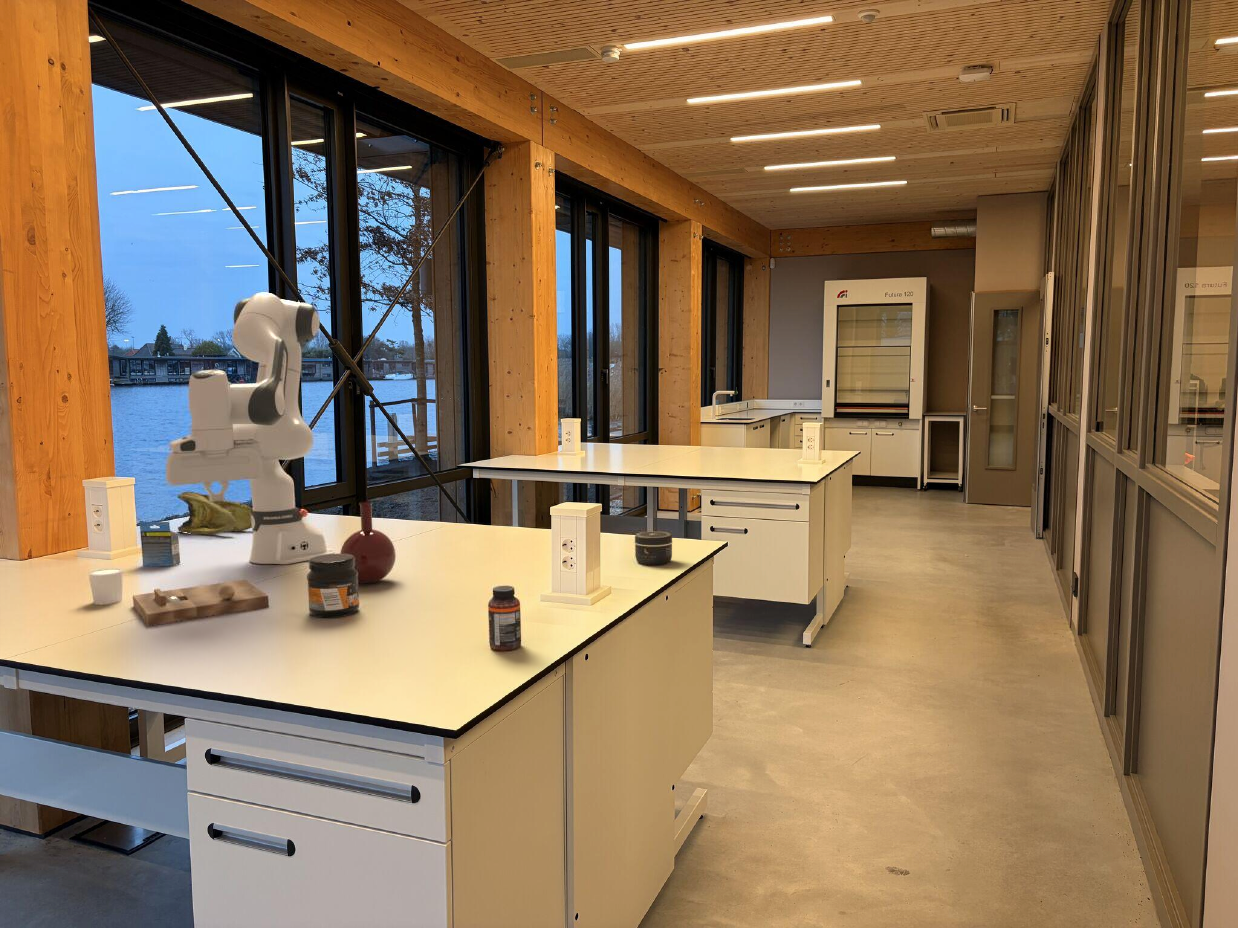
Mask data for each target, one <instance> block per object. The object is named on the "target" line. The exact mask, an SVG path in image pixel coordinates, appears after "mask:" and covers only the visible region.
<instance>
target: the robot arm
mask: <svg viewBox="0 0 1238 928" xmlns="http://www.w3.org/2000/svg"><path fill="white" fill-rule="evenodd" d="M233 324H234V326H233V329H232V335H231V340H232V342H233V346H234V347H235V348H236V350H237V351H238V352H239V354H240V355H242V356H243V357H245V358H246V359H247V360H250V361H252V362H255V363H258V370H257V374H256V375H257V376H256V382H255V383H254V382H253V383H232V382H230V381H229V380H228V376H227V372H226V371H224V370H220V369H205V370H199V371H195V372H194V373H192V374H191V375H190V377H189V381H188V382H189V383H188V410H189V414H190V416H191V425H190V435H186V436H183V437H181V438H178V439H176V440H173V441H170V442H169V449H170V451H171V452H170V453H169V454H168V456H167V458H166V463H165V481H166V482H167V484H168V485H170V486H173V487H175V486H185V485H196V484H197V485H199V484H202V485H203V488H204V490H205V491H206V492H207V495H209V498H210V502H217V501H225V500H226V499H225V498H226V497H225V494H226V492H227V490H228V489H229V486H230V481H240V480H249V484H250V491H251V492H250V493H251V503H252V509H253V510H252V511H251V526H252V528H251V529H252V532H253V533H252V544H251V551H250V552H251V553H250V556H249V560H248V561H249V562H250V563H254V564H260V565H261V564H263V565H269V564H270V565H272V564H273V565H275V564H277V565H290V564H295V563H300V562H307V561H309V559H310V558H312V557H315V556H320V555H326V554H336V553H335V550H334V548H331V547H330V546H329V547H328V546H327V543H326V540H325V536H324V534H323V533H322V531H320V530H319V529H317V528H316V527H315V526H313V525H311V524H310V523H309V522H307V521H305V520H304V519H303V518H305V517H308V515H309V512H308V511H307V510H306V509H304V508H299V507H296V501H295V500H296V497H295V496H296V495H295V484H294V480H293V478H292V477H291V476H290V475H289V474H287V472H286V471H285V470H284V469H283V467H282V466H281V464H280V461H279V460H281V461H283V460H285V461H290V460H295V459H299V458H303V457H305V456H307V455H308V454H309V453H310V452H311V450H312V448H313V444H314V434H313V431H312V429H311V428H310V426H308V424H307V423H306V422H305V421H304V420H303V417H302V415H301V412H300V407H299V390H300V389H299V388H300V380H301V379H300V378H301V373H302V372H301V371H302V348H305V347H306V346H307V344H309V343H311V342H312V341H313V340H314V339H315V338H316V337H317V335H318V331H319V329H320V317H319V313H318V310H317V308H316V307H315V306H314V305H311V304H309V303H307V302H298V301H297V302H296V301H293V300H288V299H287V300H286V299H281V298H280V297H278V296H277V295H275V294H273V293H269V292H258V293H255V294H253V295H252V296H251V297H247V298H243V299H241V300H239V302H237V303H236V304H235V307H234V311H233ZM217 482H218V483H220V486H222V487H221V489H220V491H219V492H215V493H213V491H212V490H211V488H212V487H213V486H212V485H213V483H217Z"/></svg>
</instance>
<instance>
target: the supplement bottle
mask: <svg viewBox="0 0 1238 928" xmlns="http://www.w3.org/2000/svg"><path fill="white" fill-rule="evenodd" d="M515 594H516V592H515V587H514V586H512V585H497V586H495V587H493V588H492V597H491V599H489V601H488V603H487V609H488V616H487V617H488V638H489V639H488V640H489V641H488V643H489V647H490V648H491V649H492V650H494V651H499V652H506V651H507V652H509V651H514V650H516V649H519V648H520V647H521V645H522V624H521V623H522V622H521V621H522V620H521V618H522V617H521V601H520V599H519V598H518V597H515Z"/></svg>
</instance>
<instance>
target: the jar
mask: <svg viewBox="0 0 1238 928" xmlns="http://www.w3.org/2000/svg"><path fill="white" fill-rule="evenodd" d="M634 549H635V550H634V551H635V552H634V553H635V555H634V557H635V559H636V563H637V564H638V565H641V566H645V567H646V566H649V567H659V566H667V565H668V564H670V563H671V561H672V557H673V535H672V534H671V533H670V532H666V531H656V530H655V531H654V530H653V531H641V532H637V533H635V536H634Z"/></svg>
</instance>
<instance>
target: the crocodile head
mask: <svg viewBox="0 0 1238 928" xmlns="http://www.w3.org/2000/svg"><path fill="white" fill-rule="evenodd" d="M177 499H179V500H182V501H183V502H184V503H186V505H187V511H188V513H189V517H188V519H187V520H185V521H183V522H182V524H181V525H180V526H177V530H178V531H179V532H180V531H181V532H187V533H191V534H190V535H192V534H204V535H203V536H209V535H216V534H217V535H218V534H220V533H221V534H222V533H226V532H229V531H230V532H235V531H236V532H237V533H238V532H243V531H248V530H249V529H252V526H251V511H252V510H253V507H251V506H249V505H248V504H245V503H243V502H239V501H231V500H226V499H225V501H217V502H210V498H209V494H203V493H199V492H194V491H184V492H182V493H179V494H178V495H177ZM181 532H180V533H181Z"/></svg>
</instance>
